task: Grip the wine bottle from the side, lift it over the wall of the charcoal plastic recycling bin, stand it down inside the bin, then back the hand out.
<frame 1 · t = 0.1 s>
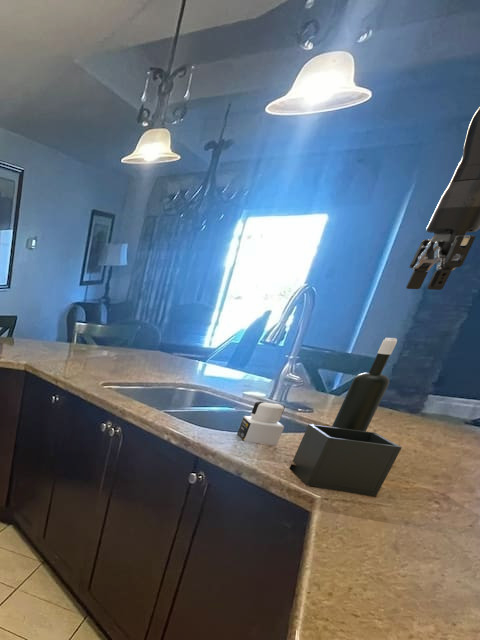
hand: (422, 289, 109), 40 cm above the countertop, tool pointing down, fingers open, 8 cm apart
bin: (329, 482, 108), on the countertop
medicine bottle: (253, 447, 130), on the countertop
wine bottle: (331, 465, 119), on the countertop
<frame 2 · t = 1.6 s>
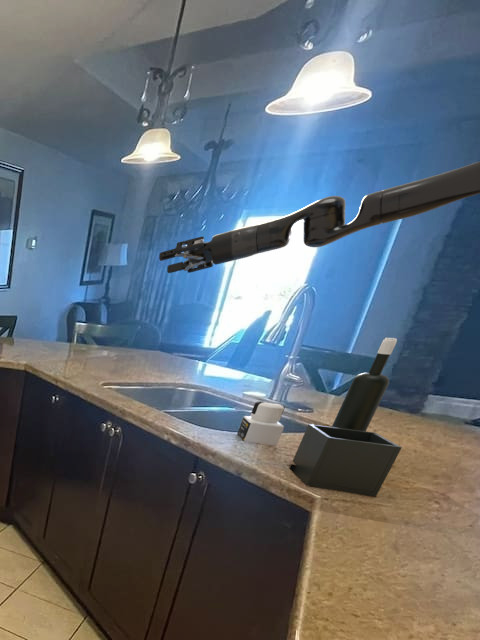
hand: (163, 263, 140), 44 cm above the countertop, tool tilted 75°, fingers open, 8 cm apart
nothing on the countertop moved.
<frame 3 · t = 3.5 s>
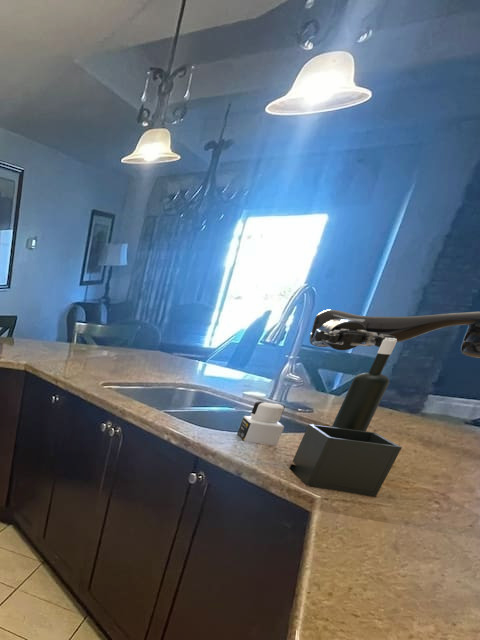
hand: (359, 340, 120), 28 cm above the countertop, tool horizontal, fingers open, 8 cm apart
nothing on the countertop moved.
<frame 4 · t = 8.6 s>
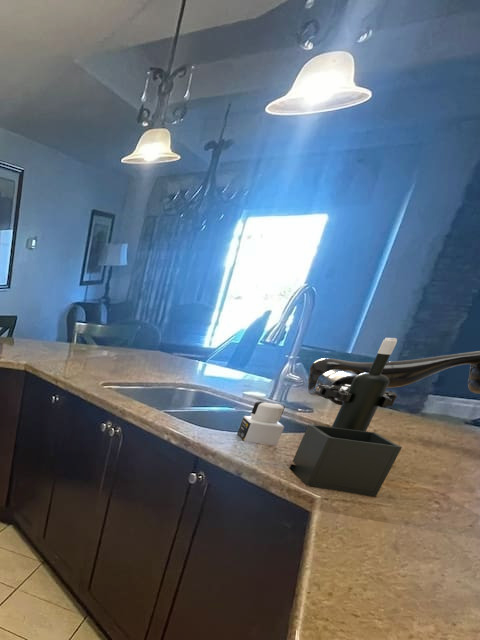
hand: (366, 400, 110), 16 cm above the countertop, tool horizontal, fingers closed on wine bottle, 5 cm apart
wine bottle: (331, 465, 119), on the countertop, touching gripper
everything else where it was.
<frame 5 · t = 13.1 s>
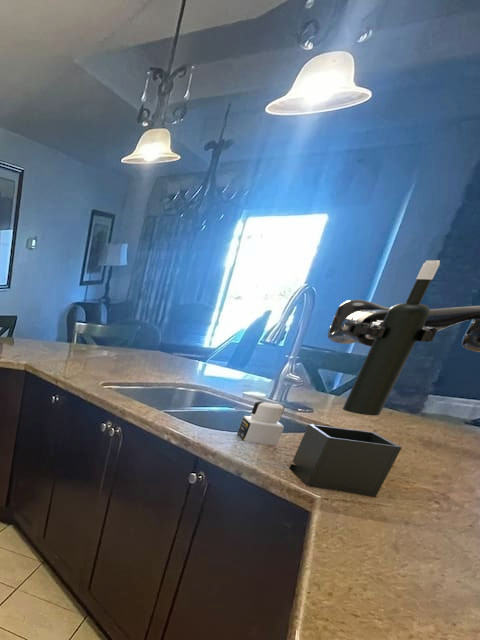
hand: (403, 334, 97), 32 cm above the countertop, tool horizontal, fingers closed on wine bottle, 5 cm apart
wine bottle: (360, 412, 106), point 15 cm above the countertop, touching gripper
everything else where it was.
when the fingers open (18 cm above the countertop, at t = 18.0 s): wine bottle stays where it is, resting on bin.
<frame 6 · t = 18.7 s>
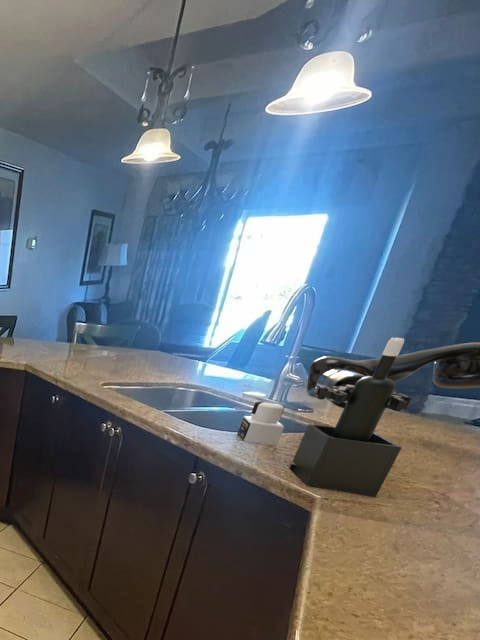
hand: (371, 402, 100), 18 cm above the countertop, tool horizontal, fingers open, 8 cm apart
wine bottle: (330, 478, 108), point 1 cm above the countertop, touching bin
everything else where it was.
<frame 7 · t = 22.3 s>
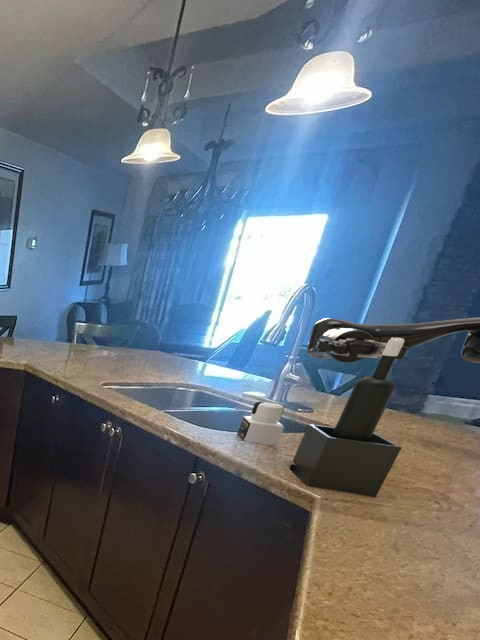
hand: (369, 351, 106), 27 cm above the countertop, tool horizontal, fingers open, 8 cm apart
nothing on the countertop moved.
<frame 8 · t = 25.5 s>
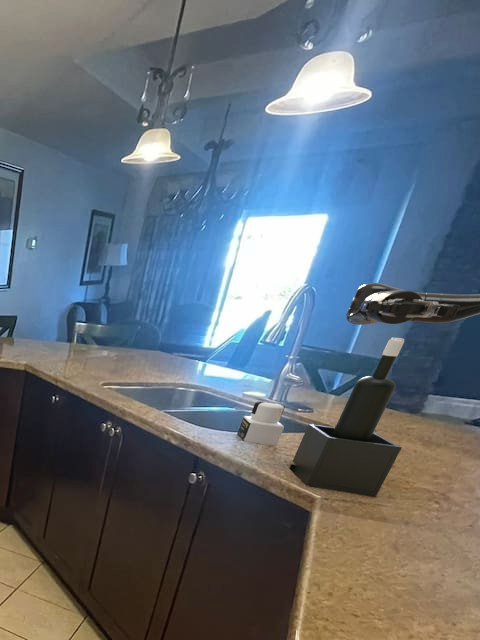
hand: (421, 309, 106), 36 cm above the countertop, tool horizontal, fingers open, 8 cm apart
nothing on the countertop moved.
at the end: wine bottle inside the target area in the bin (0.2 cm from its centre), point 0.8 cm above the bin's base; wine bottle tilted 0°; the gripper is holding nothing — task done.
